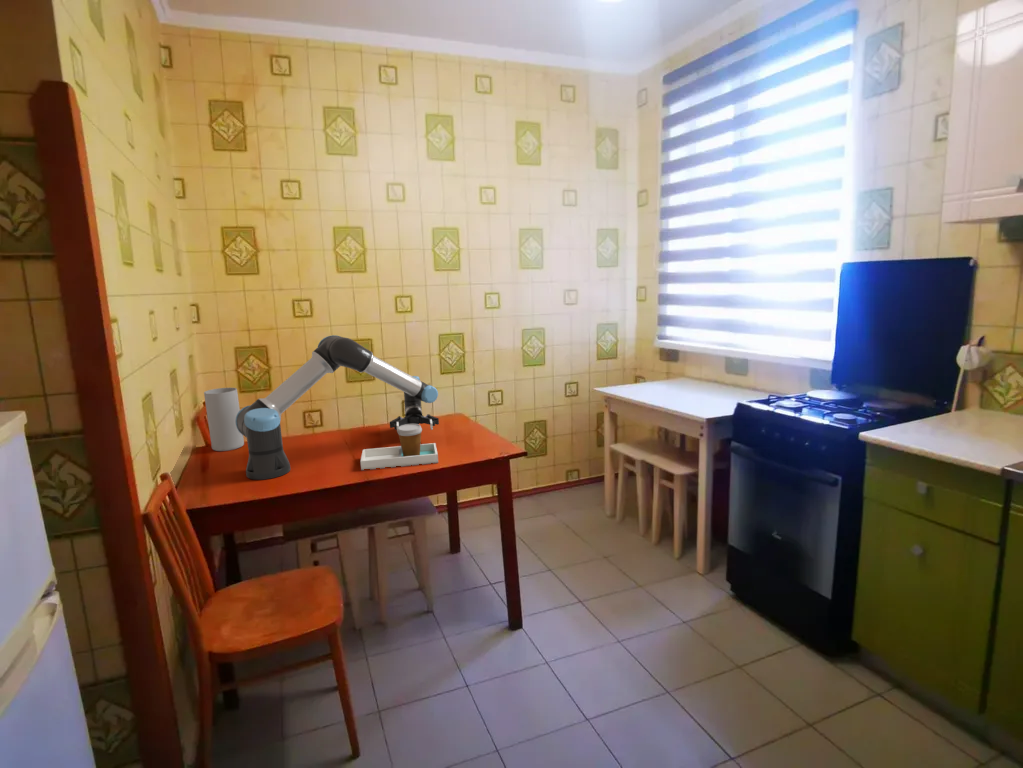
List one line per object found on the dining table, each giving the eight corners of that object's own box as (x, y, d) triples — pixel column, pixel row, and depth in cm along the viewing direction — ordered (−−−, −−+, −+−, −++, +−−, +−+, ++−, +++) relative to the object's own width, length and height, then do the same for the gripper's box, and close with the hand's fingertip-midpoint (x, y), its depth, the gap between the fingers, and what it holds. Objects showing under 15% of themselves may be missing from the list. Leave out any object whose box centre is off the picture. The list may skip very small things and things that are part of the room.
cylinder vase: (235, 451, 235) (227, 393, 230) (206, 452, 235) (197, 394, 231) (249, 442, 247) (242, 387, 242) (222, 443, 248) (214, 388, 243)
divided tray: (361, 470, 207) (360, 461, 206) (363, 457, 221) (362, 449, 220) (438, 462, 212) (437, 454, 211) (435, 451, 226) (435, 443, 225)
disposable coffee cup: (416, 461, 212) (414, 431, 209) (394, 459, 215) (392, 429, 212) (428, 453, 220) (426, 424, 218) (406, 451, 223) (404, 422, 221)
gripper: (442, 421, 250) (446, 434, 229) (385, 425, 245) (384, 439, 225) (441, 405, 248) (445, 416, 228) (384, 409, 244) (382, 421, 223)
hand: (414, 427), depth 226 cm, fingers open, 13 cm apart
